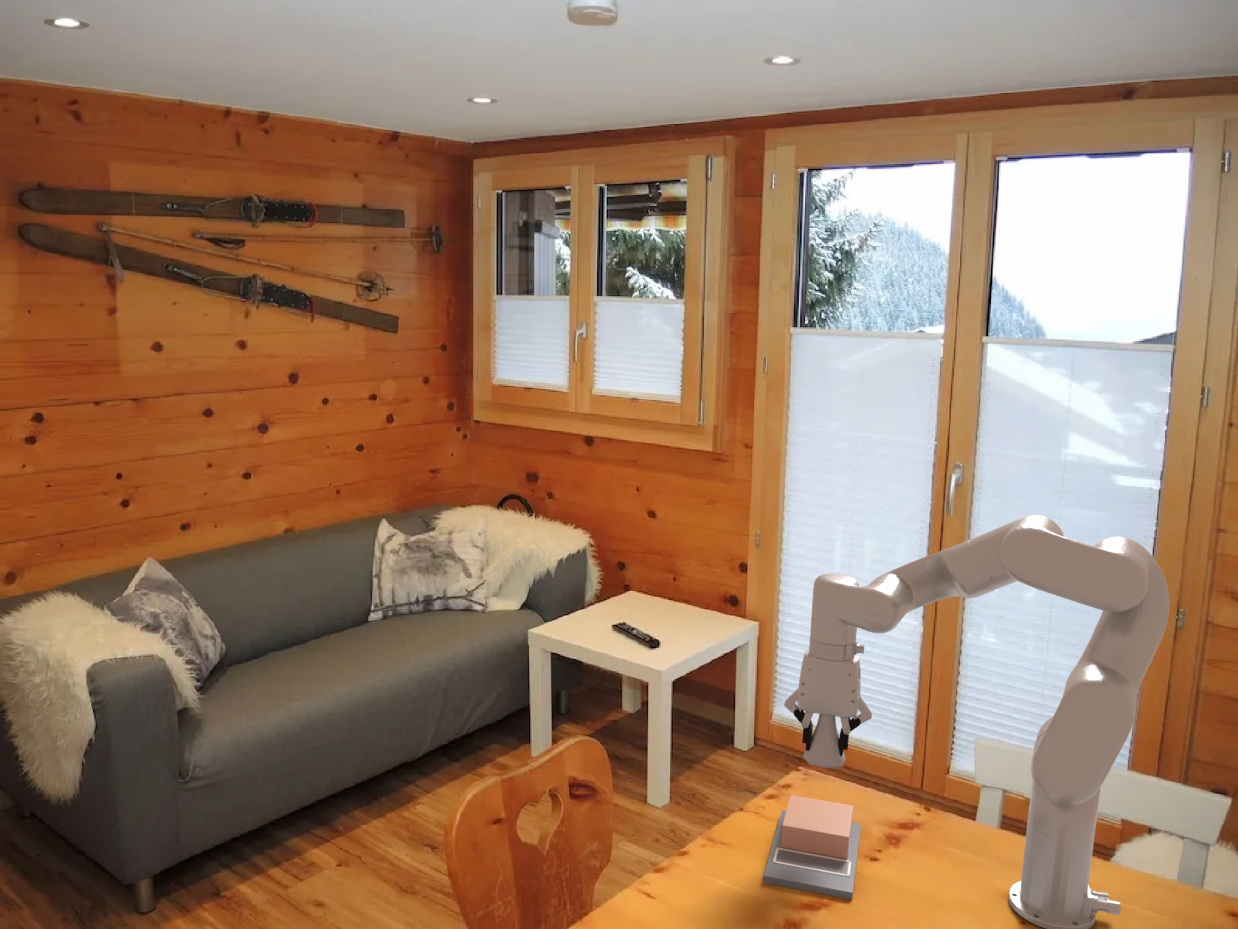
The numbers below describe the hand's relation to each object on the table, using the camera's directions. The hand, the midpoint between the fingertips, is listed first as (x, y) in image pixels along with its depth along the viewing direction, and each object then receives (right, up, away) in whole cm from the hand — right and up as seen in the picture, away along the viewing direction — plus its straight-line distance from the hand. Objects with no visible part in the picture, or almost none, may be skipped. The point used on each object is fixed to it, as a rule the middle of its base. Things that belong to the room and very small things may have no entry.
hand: (824, 749), depth 173 cm
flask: (0, -2, 0) cm, 2 cm away
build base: (-2, -18, -1) cm, 18 cm away
